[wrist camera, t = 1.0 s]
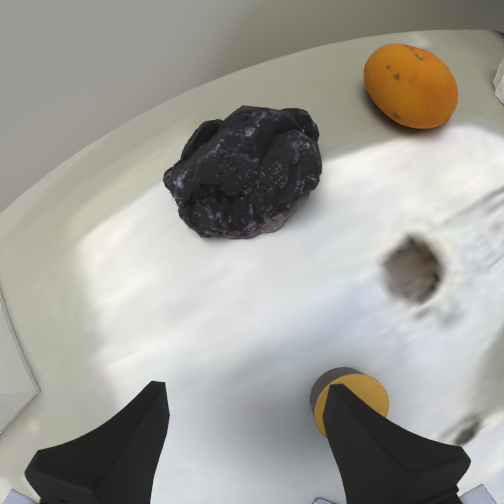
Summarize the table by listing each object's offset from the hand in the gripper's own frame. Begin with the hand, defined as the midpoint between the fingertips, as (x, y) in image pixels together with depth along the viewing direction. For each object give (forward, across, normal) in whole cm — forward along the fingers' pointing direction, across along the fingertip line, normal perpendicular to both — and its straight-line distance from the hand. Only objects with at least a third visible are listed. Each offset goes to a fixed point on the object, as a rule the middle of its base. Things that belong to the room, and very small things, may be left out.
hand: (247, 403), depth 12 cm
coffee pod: (+8, -8, +7) cm, 13 cm away
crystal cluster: (+18, 0, -9) cm, 21 cm away
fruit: (+20, -18, -20) cm, 33 cm away
